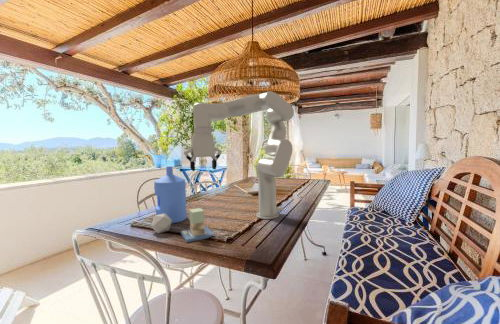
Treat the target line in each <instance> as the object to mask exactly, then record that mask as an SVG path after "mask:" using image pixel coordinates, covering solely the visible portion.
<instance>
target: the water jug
mask: <svg viewBox="0 0 500 324" xmlns="http://www.w3.org/2000/svg"><path fill="white" fill-rule="evenodd" d="M165 168H166V174H165V175H164V176H162V177H159V178H158V179H156V180H154V185H153V189H154V195H155V196H156V199H157V200H156V202H157V205H156V206H155V215H159V214H164V213H166V215H167V216H168V217H169V218H170V219H171V220H172V223H171V225H172V224H173V225H174V224H179V223H181V222H184V221H185V220H186V219H187V218H188V212H187V193H186V192H187V191H186V190H187V189H186V187H187V186H186V185H187V183H186V179H185V178H182V177H180V176H177V175H175V174H174V173H173V171H174V170H173V166H166V167H165Z"/></svg>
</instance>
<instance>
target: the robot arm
mask: <svg viewBox="0 0 500 324" xmlns="http://www.w3.org/2000/svg"><path fill="white" fill-rule="evenodd" d="M192 107H193V109H192V110H193V134H192V135H191V141H190V142H191V143H190V148H188V149H187V150H185V151H183V154H184V156H185V158H186V159H187V160H188V161H189V167H190V170H191V171H193V172H195V171H196V165H195V163H196V162H195V159H196V158H209V157H210V158H211V159H212V160H211V168H212V170H217V167H218V166H217V165H218V164H217V161H218V159H220V157H221V154H222V149H220V148H217V147H216V146H215V140H214V134H212V133H215V129H214V128H212V122H218V121H223V120H225V119H228V118H229V119H230V118H235V117H241V116H247V115H250V114H253V113H258V112H262V111H266V110H267V111H266V118H267V120H268V122H269V125H270V132H269V136H268V139H267V141H266V145H265V148H264V151H265V154H266V155H267V156H270V157H262V158H260V159H259V160H258V161H257V163H256V173H257V179H258V180H257V182H258V183H257V184H258V211H257V212H256V213H255V217H257V218H259V219H262V220H274V219H277V218H279V217H280V213H279V212H281V211H284V210H285V209H284V207H283V206H282V207H281V206H280V207H279V206H277V181H276V178H277V179H278V178H279V179H280V178H282V177H284V175H285V174H286V172H287V171H288V170H287V169H288V168H289V164H290V161H291V159H292V155H293V150H294V149H293V144H292V142H291V141H290V140H288V139H286V134H287V128H286V126H285V123H284V122H287V121H290V120H292V119H293V117H294V114H295V112H294V107H293V106H292V105H291V104H290V103H289V102H288V101H287V100H286V99H284V98H283V97H282V96H280V95H279V94H278V93H276V92H274V91H270V90H269V91H266V92H262V93H256V94H252V95H246V96H242V97H238V98H235V99H232V100H229V101H225V102H222V103H221V102H217V103H206V102H196V103H194V104H193V106H192ZM216 152H217V154H216ZM189 153H190V155H191V156H190V155H189ZM272 157H273V158H272Z"/></svg>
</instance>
